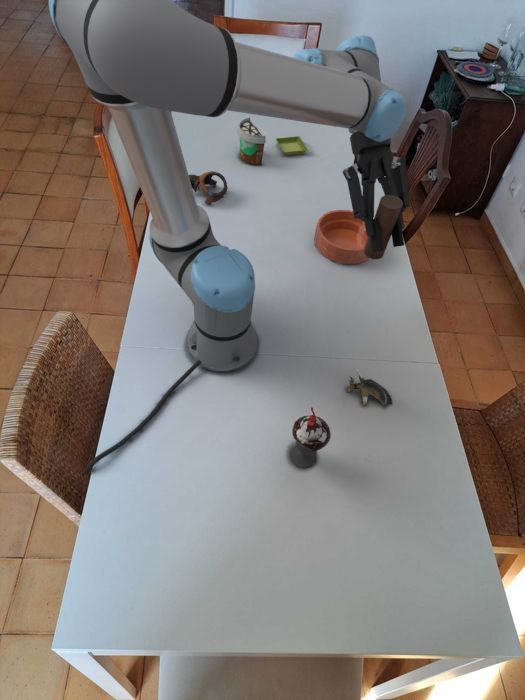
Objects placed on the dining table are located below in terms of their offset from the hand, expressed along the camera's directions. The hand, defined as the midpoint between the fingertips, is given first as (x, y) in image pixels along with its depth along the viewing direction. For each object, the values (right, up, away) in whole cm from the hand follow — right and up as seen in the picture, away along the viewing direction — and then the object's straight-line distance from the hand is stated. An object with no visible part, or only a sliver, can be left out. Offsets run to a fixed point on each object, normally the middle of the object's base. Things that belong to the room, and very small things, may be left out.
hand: (388, 248), depth 93 cm
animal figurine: (-4, -31, +3) cm, 31 cm away
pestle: (-2, 0, +5) cm, 6 cm away
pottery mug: (-42, +24, +39) cm, 63 cm away
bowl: (-4, +8, +31) cm, 32 cm away
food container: (-31, +40, +52) cm, 73 cm away
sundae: (-18, -41, -6) cm, 45 cm away
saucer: (-16, +45, +58) cm, 75 cm away
